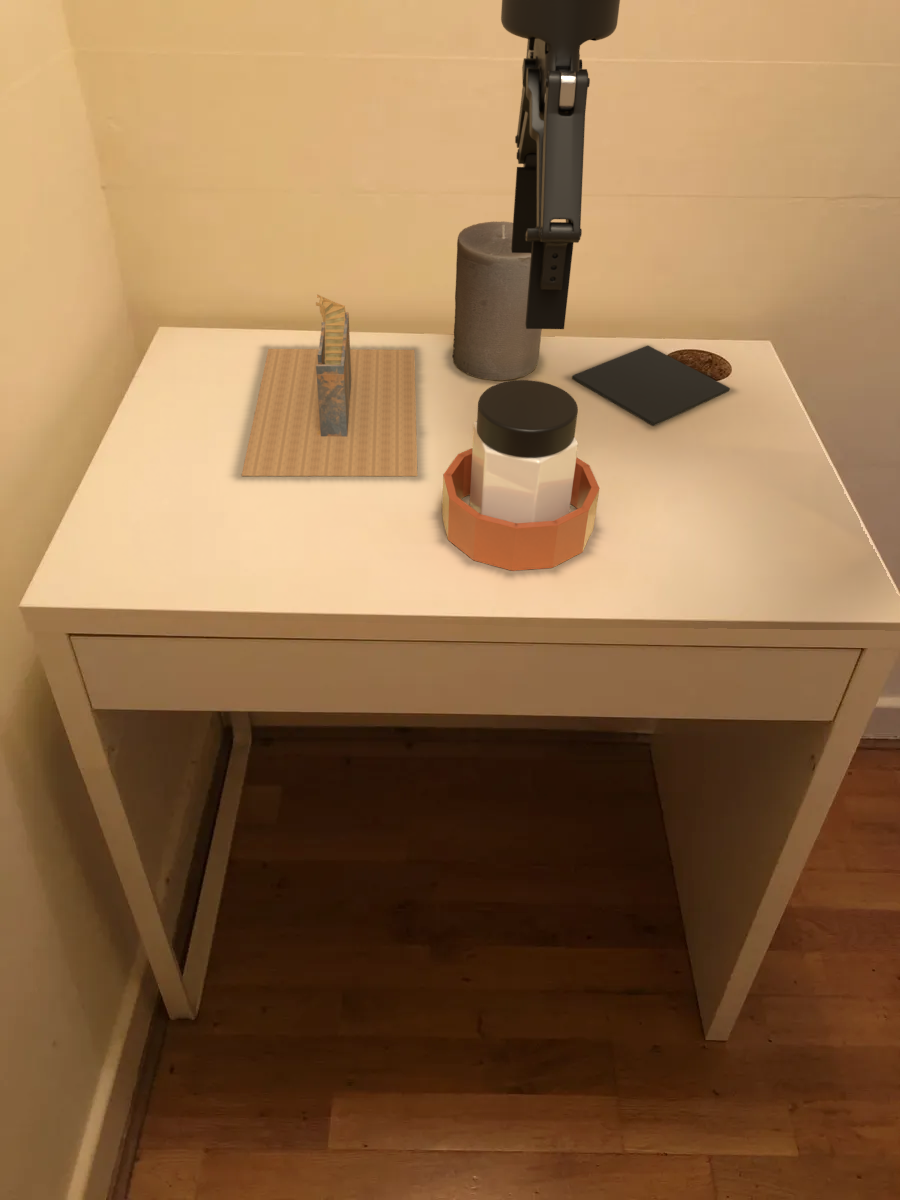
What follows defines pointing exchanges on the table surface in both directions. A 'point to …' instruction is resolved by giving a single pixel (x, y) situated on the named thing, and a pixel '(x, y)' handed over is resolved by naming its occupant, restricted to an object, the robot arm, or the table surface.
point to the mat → (650, 384)
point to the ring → (517, 524)
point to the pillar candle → (492, 305)
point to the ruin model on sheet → (334, 409)
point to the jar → (524, 452)
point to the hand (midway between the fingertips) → (535, 287)
